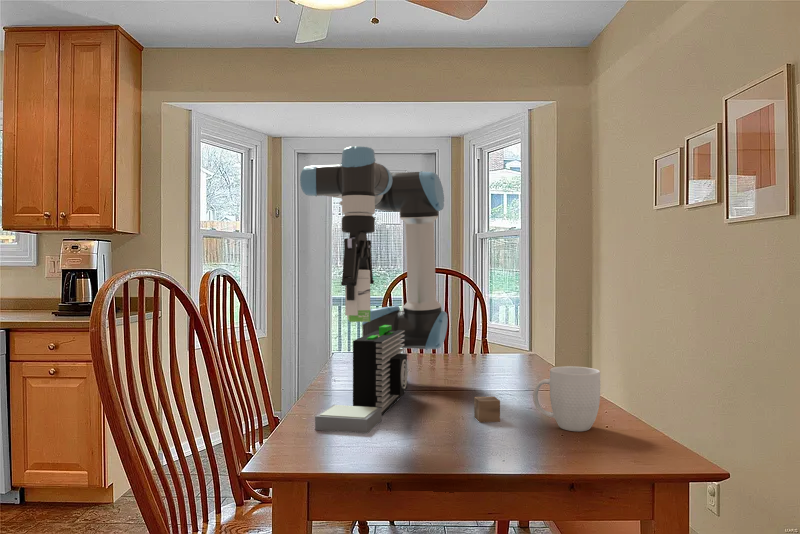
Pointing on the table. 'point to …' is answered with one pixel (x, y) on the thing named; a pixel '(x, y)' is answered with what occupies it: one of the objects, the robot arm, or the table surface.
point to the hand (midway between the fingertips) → (358, 313)
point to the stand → (348, 418)
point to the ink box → (362, 298)
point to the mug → (572, 396)
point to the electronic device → (379, 369)
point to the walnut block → (487, 409)
